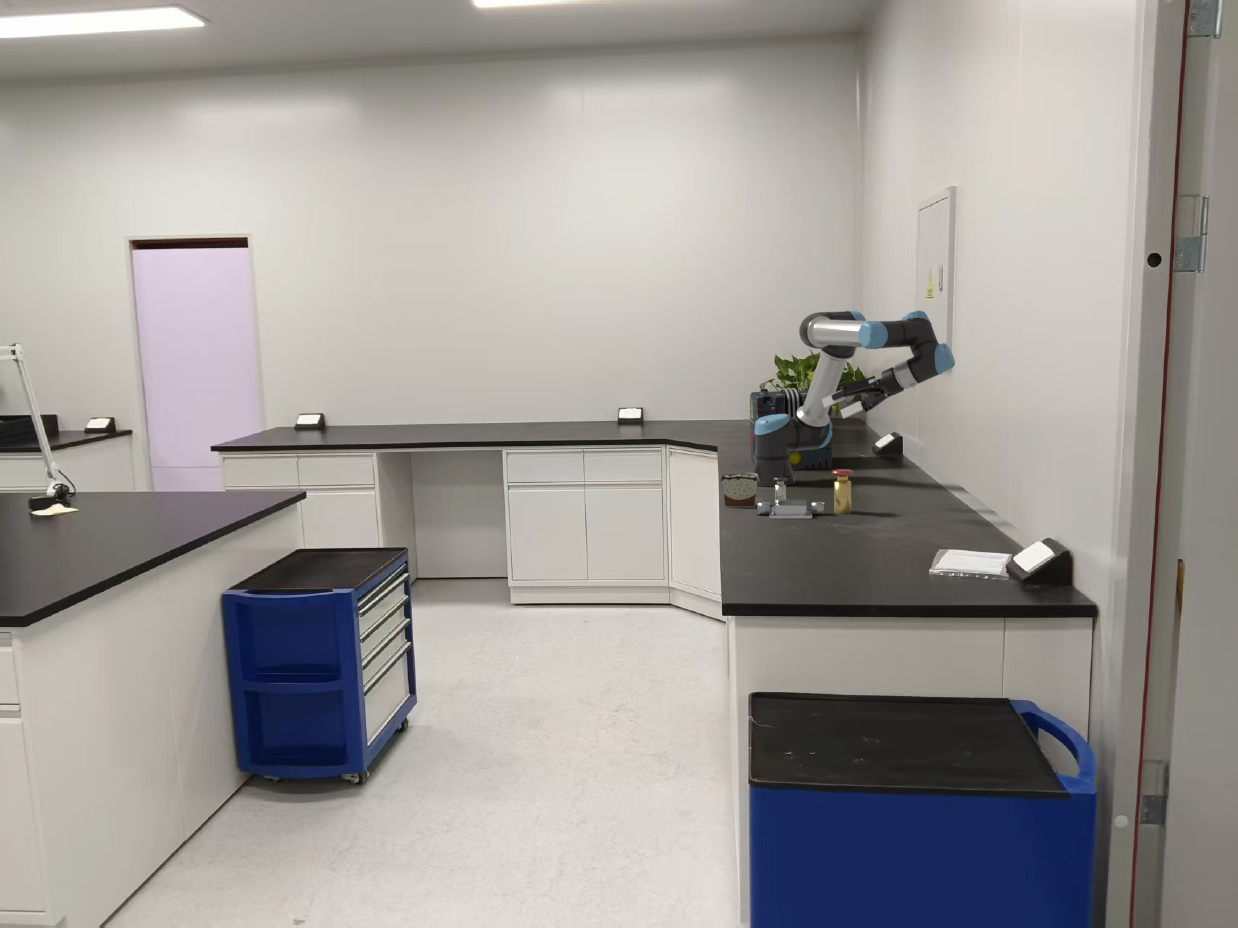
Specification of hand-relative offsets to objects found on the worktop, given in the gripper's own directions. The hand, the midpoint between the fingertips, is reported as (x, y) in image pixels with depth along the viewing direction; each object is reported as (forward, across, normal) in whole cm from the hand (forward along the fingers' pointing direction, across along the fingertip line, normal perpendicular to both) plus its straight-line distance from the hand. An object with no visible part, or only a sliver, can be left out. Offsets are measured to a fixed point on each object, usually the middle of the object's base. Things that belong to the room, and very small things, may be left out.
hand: (832, 409), depth 287 cm
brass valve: (+9, +5, -29) cm, 30 cm away
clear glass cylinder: (+27, +6, -19) cm, 34 cm away
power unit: (+47, +76, +18) cm, 92 cm away
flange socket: (+21, -4, -26) cm, 34 cm away
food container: (+38, +2, -16) cm, 41 cm away
